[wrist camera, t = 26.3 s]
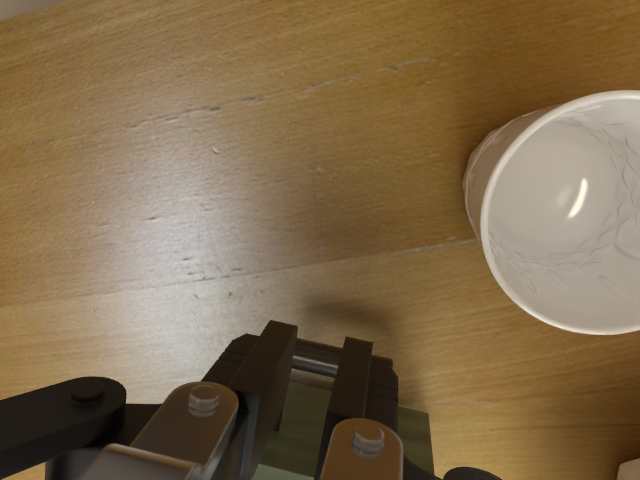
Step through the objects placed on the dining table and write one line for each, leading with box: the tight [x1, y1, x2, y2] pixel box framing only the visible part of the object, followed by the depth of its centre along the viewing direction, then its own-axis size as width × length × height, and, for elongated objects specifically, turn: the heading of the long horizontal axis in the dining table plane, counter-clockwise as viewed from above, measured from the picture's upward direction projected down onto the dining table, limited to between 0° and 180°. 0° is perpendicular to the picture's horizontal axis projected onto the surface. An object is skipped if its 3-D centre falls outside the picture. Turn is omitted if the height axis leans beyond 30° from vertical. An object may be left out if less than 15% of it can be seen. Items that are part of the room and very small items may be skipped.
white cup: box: [462, 90, 640, 335], centre depth 21 cm, size 8×8×10 cm
